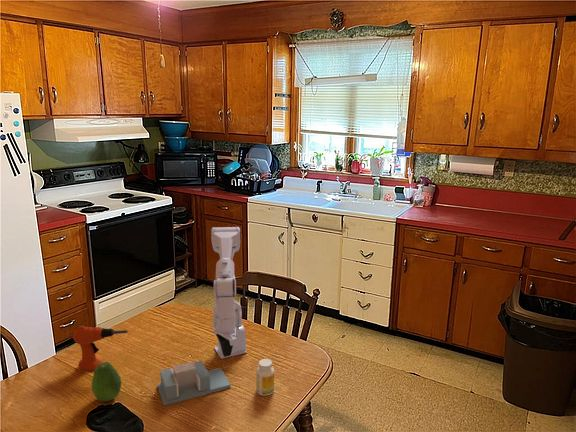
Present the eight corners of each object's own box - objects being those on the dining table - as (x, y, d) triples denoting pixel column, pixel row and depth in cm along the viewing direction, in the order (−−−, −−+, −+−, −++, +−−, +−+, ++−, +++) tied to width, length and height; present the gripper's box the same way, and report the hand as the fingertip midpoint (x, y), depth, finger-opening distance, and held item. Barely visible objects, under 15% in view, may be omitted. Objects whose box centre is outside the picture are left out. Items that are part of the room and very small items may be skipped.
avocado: (87, 403, 125) (83, 366, 122) (108, 388, 132) (104, 352, 129) (108, 411, 122) (104, 373, 119) (128, 394, 129) (125, 358, 126)
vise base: (220, 370, 142) (220, 355, 140) (230, 387, 133) (230, 371, 132) (157, 386, 133) (156, 370, 132) (163, 406, 124) (162, 389, 123)
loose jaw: (202, 372, 138) (201, 360, 137) (210, 388, 131) (209, 375, 130) (191, 375, 137) (191, 363, 136) (199, 391, 129) (198, 378, 128)
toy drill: (131, 369, 139) (122, 326, 136) (76, 372, 141) (65, 330, 138) (138, 360, 144) (128, 319, 141) (84, 364, 146) (74, 323, 143)
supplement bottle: (253, 392, 131) (252, 364, 128) (262, 383, 135) (262, 355, 133) (268, 398, 128) (268, 369, 126) (277, 388, 133) (277, 360, 130)
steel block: (193, 380, 135) (192, 361, 133) (196, 387, 131) (196, 368, 130) (174, 385, 132) (172, 366, 131) (176, 392, 129) (175, 373, 127)
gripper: (206, 308, 137) (207, 346, 140) (220, 328, 125) (221, 370, 128) (227, 303, 140) (228, 341, 143) (243, 323, 128) (244, 364, 131)
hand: (226, 355), depth 136 cm, fingers closed
